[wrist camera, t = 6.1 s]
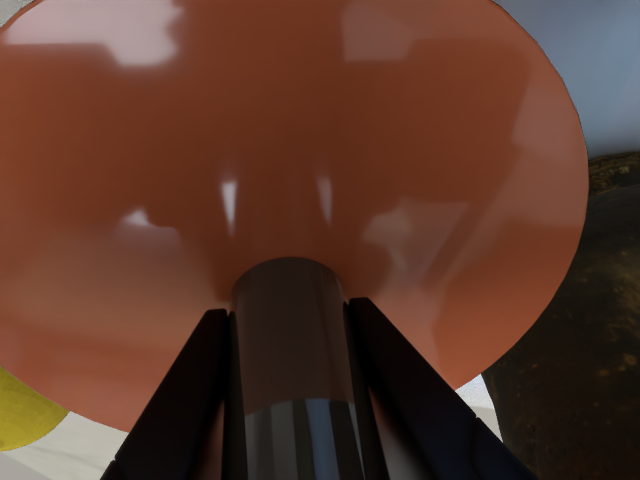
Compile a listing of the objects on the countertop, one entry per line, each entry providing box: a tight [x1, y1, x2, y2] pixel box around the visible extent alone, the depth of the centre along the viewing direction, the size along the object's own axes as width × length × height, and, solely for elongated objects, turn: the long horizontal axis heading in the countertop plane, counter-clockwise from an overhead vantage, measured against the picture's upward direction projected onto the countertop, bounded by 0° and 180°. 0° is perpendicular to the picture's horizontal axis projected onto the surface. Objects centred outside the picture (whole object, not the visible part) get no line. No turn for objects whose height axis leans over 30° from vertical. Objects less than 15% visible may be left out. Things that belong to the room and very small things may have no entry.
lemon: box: [0, 366, 70, 451], centre depth 20 cm, size 6×6×8 cm
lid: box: [0, 0, 589, 480], centre depth 8 cm, size 14×14×6 cm
